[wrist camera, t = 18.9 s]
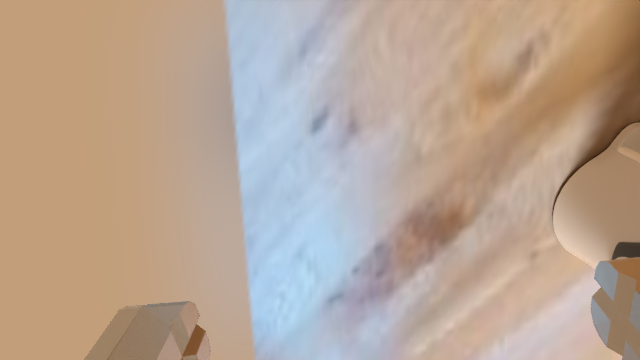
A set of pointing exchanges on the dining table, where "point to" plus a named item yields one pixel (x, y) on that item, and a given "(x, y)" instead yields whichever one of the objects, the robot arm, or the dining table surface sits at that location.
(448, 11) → the dining table surface
